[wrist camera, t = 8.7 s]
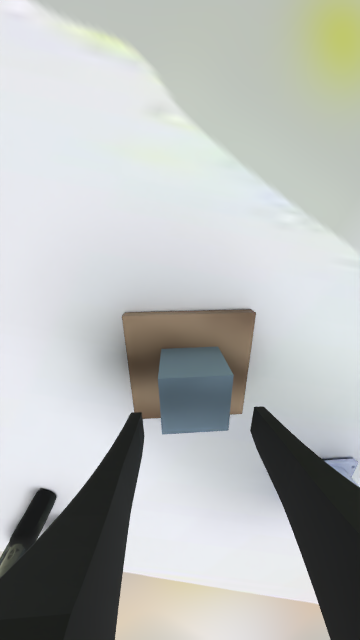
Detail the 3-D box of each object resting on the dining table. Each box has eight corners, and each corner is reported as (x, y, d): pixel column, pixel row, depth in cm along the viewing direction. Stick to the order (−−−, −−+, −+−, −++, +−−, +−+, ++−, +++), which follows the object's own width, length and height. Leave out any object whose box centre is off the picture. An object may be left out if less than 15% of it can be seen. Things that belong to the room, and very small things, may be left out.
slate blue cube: (215, 392, 17) (228, 430, 13) (164, 394, 17) (162, 434, 13) (218, 346, 15) (233, 375, 11) (161, 348, 15) (157, 378, 11)
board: (238, 406, 19) (254, 441, 15) (137, 410, 18) (128, 448, 15) (250, 309, 15) (275, 325, 12) (125, 312, 15) (109, 329, 11)
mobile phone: (3, 542, 17) (-26, 606, 21) (34, 547, 18) (0, 609, 22) (38, 482, 22) (10, 543, 26) (62, 488, 23) (31, 547, 26)
